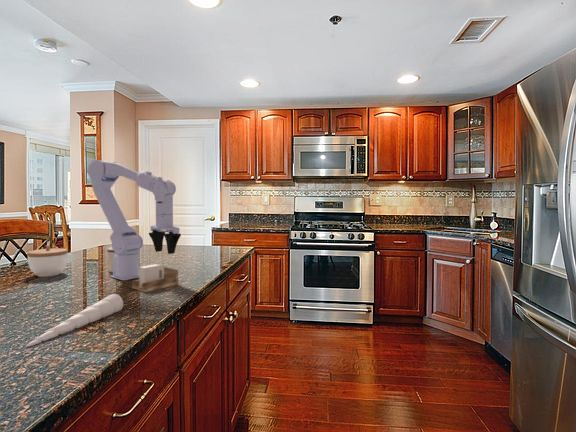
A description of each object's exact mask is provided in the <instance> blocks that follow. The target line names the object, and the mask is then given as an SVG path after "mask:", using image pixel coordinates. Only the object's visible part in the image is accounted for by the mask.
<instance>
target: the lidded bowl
mask: <svg viewBox="0 0 576 432" xmlns="http://www.w3.org/2000/svg"><path fill="white" fill-rule="evenodd" d="M68 253H69V250H68V249H67V248H62V247H61V248H55V247H54V248H51V247H50V245H45V248H41V249H36V250H35V249H34V250H29V251H27V252H26V256H27V263H28V267H29V269H30V271H31V272H32V273H33V274H35V275H36V277H40V278H44V277H45V278H46V277H54V276H57V275H60V274H61V272H63V270H65V268H66V266H67V264H68Z"/></svg>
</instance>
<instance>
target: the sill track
mask: <svg viewBox="0 0 576 432" xmlns="http://www.w3.org/2000/svg"><path fill="white" fill-rule="evenodd" d="M177 285H179V269H177V268H171V267H167V266H164V279H160V280H156V281H151V282H146V283H142V286H140V285H139V279H136V280H135V279H133V280H132V284H131V288H132V289H133V290H134V289H135V290H137V291H139V292H140V291H141V292H143V293H147V292H152V291H154V290H155V291H156V290H160V289H165V288H169V287H173V286H177Z"/></svg>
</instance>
